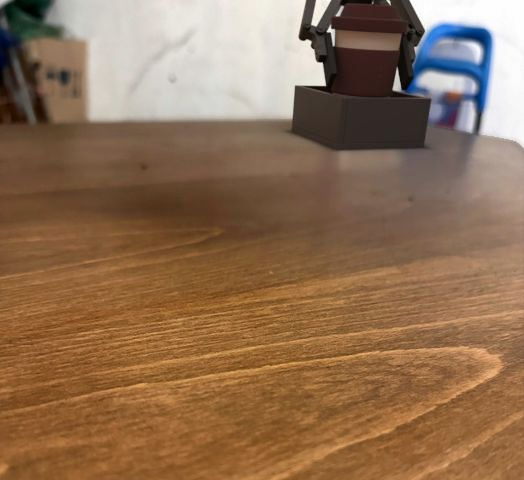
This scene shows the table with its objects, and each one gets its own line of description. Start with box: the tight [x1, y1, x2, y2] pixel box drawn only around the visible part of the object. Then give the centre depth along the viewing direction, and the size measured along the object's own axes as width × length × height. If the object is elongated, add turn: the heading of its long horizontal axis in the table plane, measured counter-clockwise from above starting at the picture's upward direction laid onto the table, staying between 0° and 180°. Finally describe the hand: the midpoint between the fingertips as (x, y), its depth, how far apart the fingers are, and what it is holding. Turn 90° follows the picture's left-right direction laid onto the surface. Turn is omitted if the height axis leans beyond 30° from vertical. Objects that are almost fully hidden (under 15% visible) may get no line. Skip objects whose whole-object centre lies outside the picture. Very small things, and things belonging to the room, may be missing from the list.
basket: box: [291, 84, 432, 151], centre depth 93 cm, size 14×14×6 cm
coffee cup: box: [330, 3, 408, 98], centre depth 90 cm, size 10×10×15 cm
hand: (370, 82), depth 88 cm, fingers closed on coffee cup, 10 cm apart
